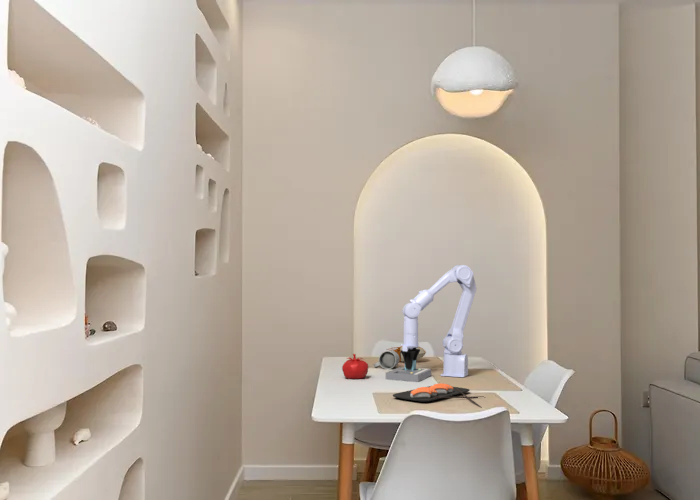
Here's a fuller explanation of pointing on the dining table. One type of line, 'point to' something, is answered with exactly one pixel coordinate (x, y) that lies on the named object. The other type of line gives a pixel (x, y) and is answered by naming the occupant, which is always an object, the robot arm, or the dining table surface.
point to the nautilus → (398, 351)
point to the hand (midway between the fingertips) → (410, 367)
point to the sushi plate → (434, 393)
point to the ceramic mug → (388, 360)
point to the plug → (412, 366)
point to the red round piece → (355, 368)
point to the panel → (408, 374)
